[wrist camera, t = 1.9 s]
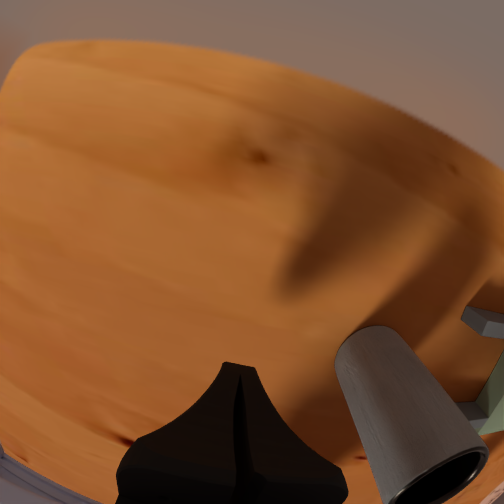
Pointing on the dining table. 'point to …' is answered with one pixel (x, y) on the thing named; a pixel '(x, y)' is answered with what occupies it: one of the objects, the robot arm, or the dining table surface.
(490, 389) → the mount
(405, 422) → the grey hollow tube
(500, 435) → the dining table surface
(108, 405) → the dining table surface
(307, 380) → the dining table surface
